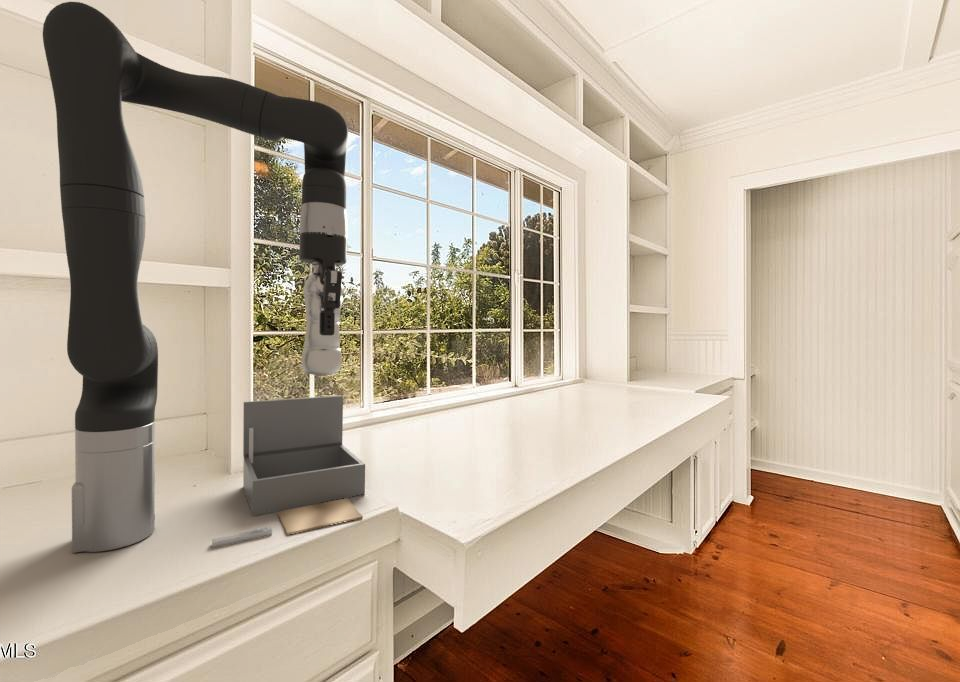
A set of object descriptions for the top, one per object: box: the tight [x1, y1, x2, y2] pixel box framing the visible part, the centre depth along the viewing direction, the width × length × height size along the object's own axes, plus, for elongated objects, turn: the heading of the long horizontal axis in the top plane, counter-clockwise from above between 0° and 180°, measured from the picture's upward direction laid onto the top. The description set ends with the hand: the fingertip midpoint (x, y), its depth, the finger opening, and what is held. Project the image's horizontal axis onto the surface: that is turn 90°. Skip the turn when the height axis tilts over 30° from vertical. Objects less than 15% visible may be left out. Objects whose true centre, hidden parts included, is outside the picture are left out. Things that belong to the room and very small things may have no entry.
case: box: [242, 394, 366, 517], centre depth 87 cm, size 20×16×17 cm
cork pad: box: [277, 498, 363, 536], centre depth 76 cm, size 12×9×1 cm
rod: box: [211, 526, 273, 549], centre depth 67 cm, size 8×1×1 cm, turn 124°
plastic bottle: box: [300, 262, 345, 377], centre depth 75 cm, size 6×7×20 cm
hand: (322, 334), depth 75 cm, fingers closed on plastic bottle, 5 cm apart
